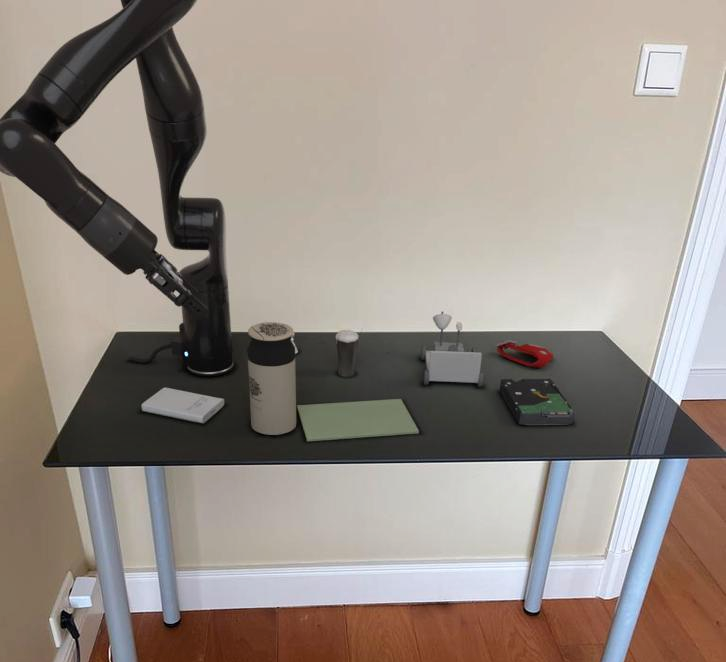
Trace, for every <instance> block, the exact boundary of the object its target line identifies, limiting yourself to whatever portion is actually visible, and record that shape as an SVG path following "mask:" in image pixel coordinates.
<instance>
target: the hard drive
mask: <svg viewBox="0 0 726 662" xmlns="http://www.w3.org/2000/svg"><path fill="white" fill-rule="evenodd" d="M224 406H225V398H221V397H216V396H215V397H214V396H210V395H205V394H200V393H195V392H190V391H186V390H181V389H175V388H170V387H163V388H161V389H160V390H159V391H157V392H156V393H154V394H153V395H152V396H150V397H148V399H146V400H145V401H144V402H143V403H141V411H142V412H146V413H150V414H155V415H160V416H164V417H170V418H174V419H180V420H184V421H189V422H193V423H199V424H205V423H207V422H208V421H209V419H211V418H212V417H213V416H214V415H215V414H217V413H218V412H219V411H220V410H221V409H222V408H223V407H224Z"/></svg>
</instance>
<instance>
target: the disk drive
mask: <svg viewBox="0 0 726 662" xmlns="http://www.w3.org/2000/svg"><path fill="white" fill-rule="evenodd" d="M499 391H500V393H501V395H502V397H503V399H504V401H505V402H506V404H507V406H508V407H509V409H510V411H511V413H512V414H513V416H514V418H515V420H516V421H517V423H518V425H523V426H524V425H526V426H549V425H550V426H551V425H553V426H555V425H572V424H573V422H574V419H575V415H574V410H573V409H572V408H573V407H572V406H571V404H569V402H568V401H567V399H566V398H565V397H564V395H563V394H562V392H561V391H560V389H559V388H558V387H557V385H556V384H555V382H554V381H553V380H552V379H551V378H522V379H519V380H518V381H516V380H514V379H512V378H501V379H500V385H499Z"/></svg>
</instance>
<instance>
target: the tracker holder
mask: <svg viewBox="0 0 726 662" xmlns="http://www.w3.org/2000/svg"><path fill="white" fill-rule="evenodd" d="M516 344H517V342H516V341H514V340H510V339H509V340H504V341H501V342H499V343H497V344H495V345H494V347H496V349H497V352H498V353H499V354H500V355H501V356H503V357H504V358H506V359H508V360H510V361H513V362H514V363H517V364H518V363H519V365H520V364H521V365H523V366H525V367H530V368H536V369H542V368H544V367H545V366H547V365H548V363H550V361H551V360H552V359H554V354H553V353H552V352H549V350H548V349H547V348H546V347H543V346H541V345H539V344H534V343H524V344H522V345H516ZM508 348H509V349H510V350H513V351H515V352H519V353H523V354H525V355H530V356H533V357H535V358H536V359H537V360H536V361H534V362H533V363H532V362H529V361H525V360H523V359H520V358H518V357H514V356H512V355H511V354H509V353H507V352H506V351H505V350H507V349H508Z"/></svg>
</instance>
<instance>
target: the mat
mask: <svg viewBox="0 0 726 662" xmlns="http://www.w3.org/2000/svg"><path fill="white" fill-rule="evenodd" d="M296 410H297V413H298V415H299V420H300V423H301V426H302V429H303V432H304V435H305V439H306V442H318V441H319V442H321V441H332V440H335V441H336V440H346V439H359V438H360V439H361V438H375V437H387V436H388V437H389V436H401V435H402V436H403V435H415V434H420V430H419V429H418V427H417V425H416V422H415V421H414V419H413V418H412V416H411V414H410V412H409V411H408V409H407V407H406V405H405V403H404V402H403V400H402V398H392V399H391V398H390V399H377V400H375V399H374V400H360V401H346V402H345V401H344V402H343V401H342V402H330V403H329V402H328V403H313V404H298V405H297V404H296Z"/></svg>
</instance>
